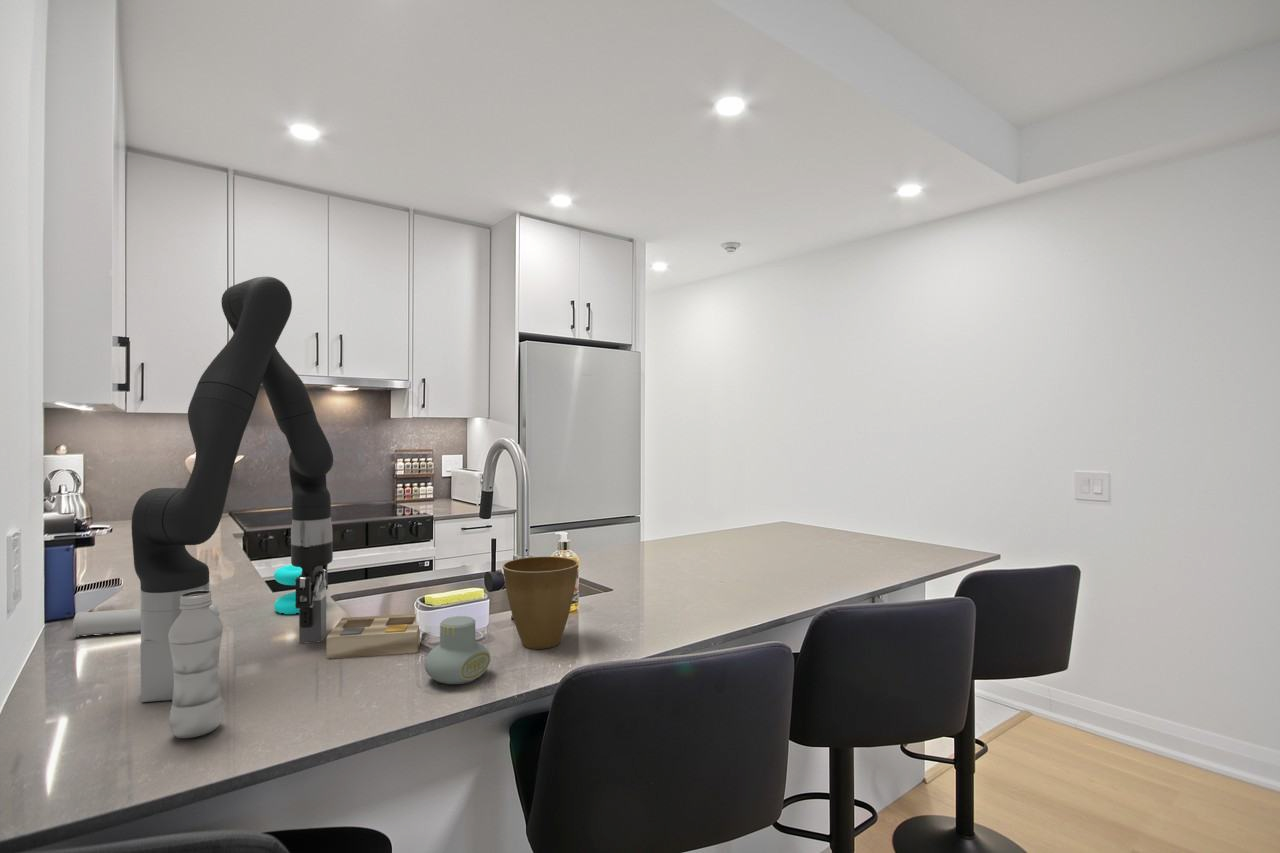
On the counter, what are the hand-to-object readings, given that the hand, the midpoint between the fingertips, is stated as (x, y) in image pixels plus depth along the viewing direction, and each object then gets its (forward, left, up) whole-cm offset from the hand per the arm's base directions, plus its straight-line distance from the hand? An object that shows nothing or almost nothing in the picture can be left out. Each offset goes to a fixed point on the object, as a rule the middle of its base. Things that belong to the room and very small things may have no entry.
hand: (312, 620), depth 133 cm
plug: (0, 0, -4) cm, 4 cm away
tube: (+13, +35, -4) cm, 37 cm away
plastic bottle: (-39, +5, -4) cm, 40 cm away
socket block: (-6, -14, -4) cm, 15 cm away
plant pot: (-11, -45, -4) cm, 47 cm away
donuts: (+22, +9, -4) cm, 25 cm away
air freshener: (-26, -30, -4) cm, 40 cm away
